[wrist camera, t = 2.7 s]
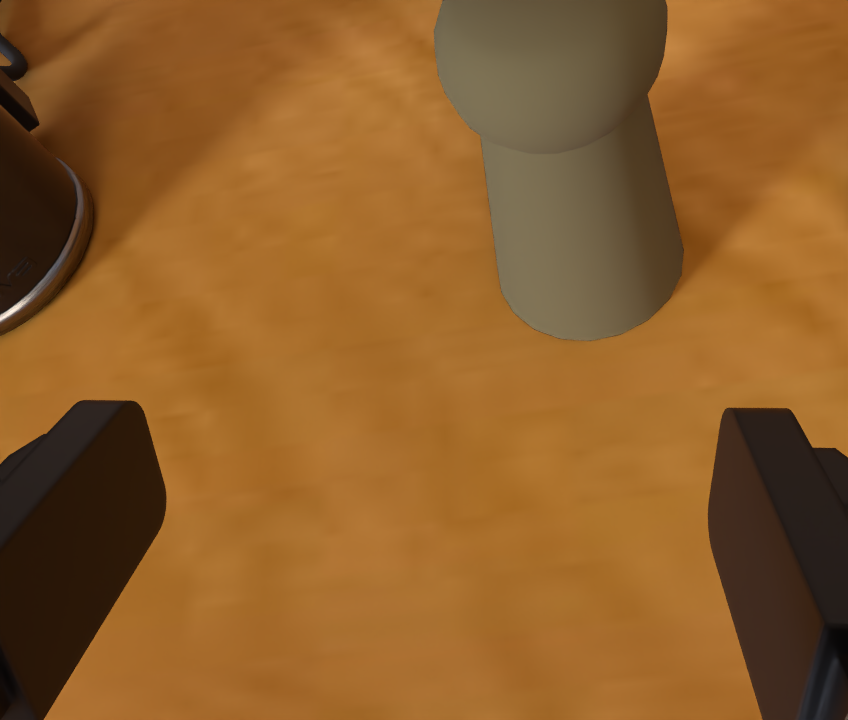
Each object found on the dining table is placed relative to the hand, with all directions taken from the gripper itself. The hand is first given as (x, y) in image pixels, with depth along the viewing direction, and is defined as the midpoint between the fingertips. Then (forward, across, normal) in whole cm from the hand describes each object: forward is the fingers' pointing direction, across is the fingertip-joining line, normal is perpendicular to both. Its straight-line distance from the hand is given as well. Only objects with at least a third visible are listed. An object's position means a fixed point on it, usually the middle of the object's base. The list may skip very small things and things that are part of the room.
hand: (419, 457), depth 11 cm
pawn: (+16, -4, +4) cm, 17 cm away
